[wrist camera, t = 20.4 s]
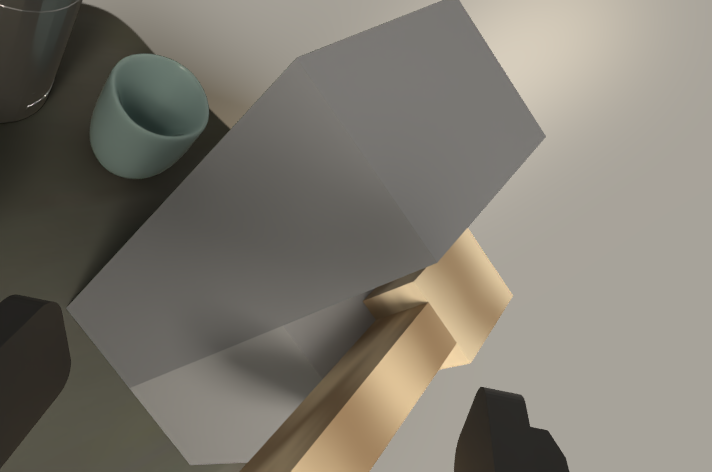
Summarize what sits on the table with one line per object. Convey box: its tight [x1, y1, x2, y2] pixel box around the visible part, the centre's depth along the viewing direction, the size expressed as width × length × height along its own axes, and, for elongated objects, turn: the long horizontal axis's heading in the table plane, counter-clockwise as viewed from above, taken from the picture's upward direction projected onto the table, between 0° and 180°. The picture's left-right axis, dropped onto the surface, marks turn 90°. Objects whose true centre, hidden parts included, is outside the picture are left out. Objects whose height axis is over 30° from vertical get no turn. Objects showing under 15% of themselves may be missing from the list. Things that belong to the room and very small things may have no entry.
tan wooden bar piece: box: [240, 228, 513, 472], centre depth 24 cm, size 21×5×4 cm, turn 135°
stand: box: [66, 0, 546, 465], centre depth 34 cm, size 12×16×34 cm
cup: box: [89, 54, 209, 179], centre depth 45 cm, size 8×8×10 cm
